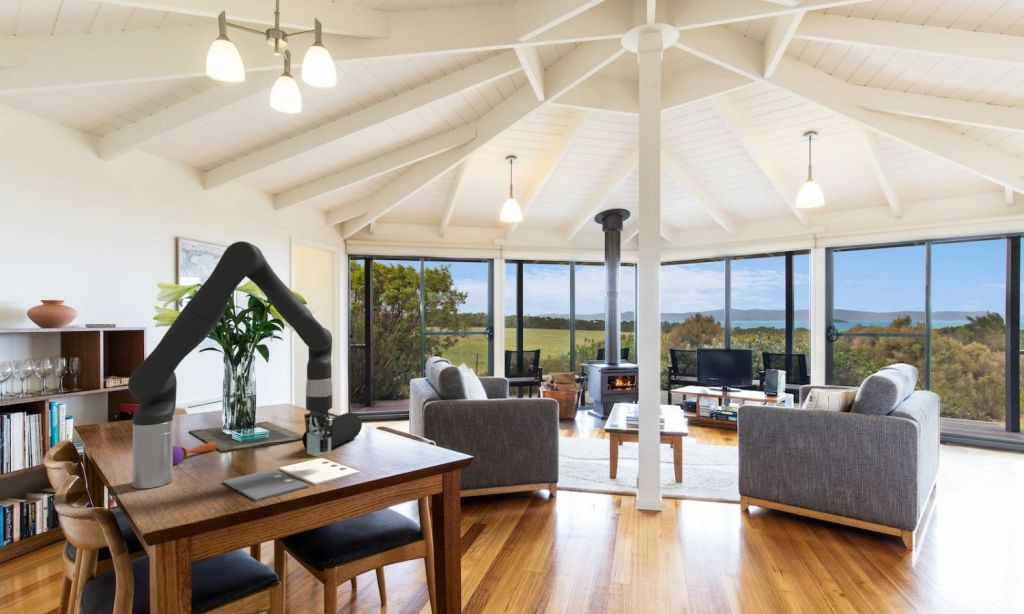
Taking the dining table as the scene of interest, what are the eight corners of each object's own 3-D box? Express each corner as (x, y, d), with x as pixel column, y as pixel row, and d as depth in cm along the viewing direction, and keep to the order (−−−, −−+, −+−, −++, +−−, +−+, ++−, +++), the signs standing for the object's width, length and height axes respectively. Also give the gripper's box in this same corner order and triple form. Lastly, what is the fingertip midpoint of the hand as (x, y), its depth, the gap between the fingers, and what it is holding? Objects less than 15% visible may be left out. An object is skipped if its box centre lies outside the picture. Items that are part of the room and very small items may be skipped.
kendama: (221, 439, 179) (175, 450, 159) (217, 456, 179) (170, 469, 159) (207, 435, 180) (158, 445, 160) (203, 452, 180) (154, 464, 160)
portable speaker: (340, 437, 199) (340, 411, 199) (364, 438, 197) (364, 412, 197) (299, 454, 174) (300, 425, 174) (326, 456, 172) (326, 426, 172)
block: (307, 453, 155) (307, 433, 155) (322, 450, 159) (322, 430, 159) (315, 456, 151) (315, 436, 152) (331, 452, 155) (331, 432, 155)
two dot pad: (222, 482, 145) (222, 480, 145) (272, 471, 155) (272, 469, 155) (256, 501, 130) (256, 498, 130) (308, 487, 141) (308, 484, 141)
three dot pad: (278, 469, 157) (279, 467, 157) (321, 459, 167) (321, 457, 167) (315, 485, 142) (315, 482, 142) (359, 473, 153) (359, 471, 153)
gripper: (295, 392, 157) (295, 448, 157) (319, 397, 148) (319, 457, 147) (318, 389, 163) (318, 443, 163) (343, 394, 153) (343, 451, 153)
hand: (319, 449), depth 155 cm, fingers closed on block, 5 cm apart
